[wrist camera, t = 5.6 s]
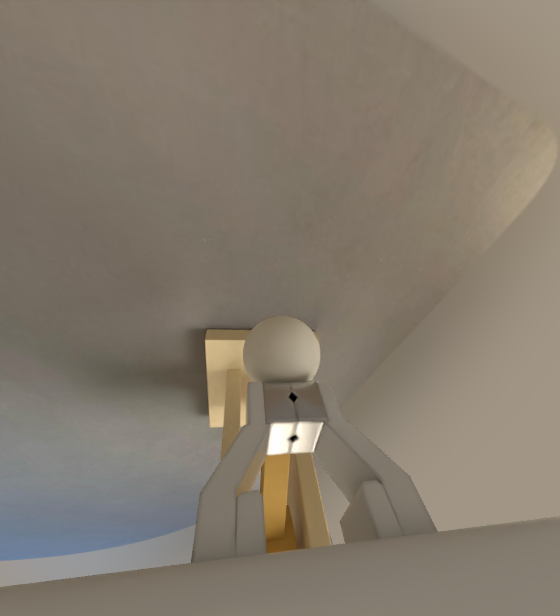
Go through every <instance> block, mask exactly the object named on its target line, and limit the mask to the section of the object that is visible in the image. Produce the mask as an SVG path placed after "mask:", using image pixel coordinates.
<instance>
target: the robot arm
mask: <svg viewBox="0 0 560 616" xmlns="http://www.w3.org/2000/svg"><path fill="white" fill-rule="evenodd" d="M296 453H314V455H315V457H316V458H317V459H318V461H319V462H320V463H321V465H322V466H323V467H324V469H325V470H326V471H327V473H328V474H329V475H330V476H331V478H332V479H333V481H334V482H335V483H336V485H337V486H338V487H339V489H340V490H341V491H342V493H343V494H344V495H345V497H346V498H347V499H348V501H349V502H350V505H349V506H348V508H347V510H346V512H345V513H344V515H343V517H342V519H341V520H340V524H341V528H342V532H343V537H344V541H345V544H338V545H330V546H322V547H314V548H306V549H298V550H290V551H282V552H274V553H267V550H266V534H265V519H264V503H263V495H262V494H261V493H260V492H259V491H258V490H255V491H251V489H252V487H253V485H254V483H255V480H256V478H257V476H258V474H259V472H260V469H261V467H262V465H263V463H264V461H265V458H266V456H270V455H281V454H296ZM0 616H560V516H559V517H551V518H543V519H535V520H527V521H520V522H512V523H504V524H496V525H488V526H480V527H472V528H464V529H457V530H448V531H440V532H438V531H437V530H436V527H435V525H434V523H433V521H432V519H431V517H430V515H429V513H428V511H427V509H426V507H425V505H424V503H423V501H422V499H421V497H420V495H419V493H418V492H417V489H416V487H415V486H414V484H413V481H412V479H411V477H410V476H409V475H408V474H407V473H405V471H403V470H402V469H401V468H400V467H399V466H398V465H397V464H396V463H395V462H394V461H392V460H391V459H390V458H389V457H388V456H387V455H386V454H385V453H384V452H383V451H382V450H381V449H379V448H378V447H377V446H376V445H375V444H374V443H373V442H372V441H371V440H370V439H368V438H367V437H366V436H365V435H364V434H363V433H362V432H361V431H360V430H359V429H358V428H356V427H355V426H354V425H353V424H352V423H351V422H350V421H349V420H344V417H343V415H342V412H341V409H340V407H339V404H338V401H337V399H336V396H335V393H334V391H333V388H332V385H331V383H330V382H329V381H292V382H248V384H247V399H246V425H244V426H243V427H242V429H241V430H240V432H239V434H238V435H237V437H236V438H235V440H234V441H233V443H232V444H231V446H230V448H229V449H228V451H227V452H226V454H225V455H224V457H223V458H222V460H221V462H220V463H219V465H218V466H217V468H216V469H215V471H214V472H213V474H212V476H211V477H210V479H209V480H208V482H207V483H206V485H205V487H204V488H203V490H202V491H201V493H200V498H199V506H198V513H197V521H196V529H195V537H194V544H193V551H192V559H191V563H187V564H179V565H171V566H163V567H155V568H148V569H140V570H132V571H124V572H116V573H109V574H100V575H92V576H85V577H76V578H69V579H60V580H53V581H45V582H37V583H29V584H21V585H13V586H6V587H0Z"/></svg>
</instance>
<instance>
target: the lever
mask: <svg viewBox="0 0 560 616" xmlns="http://www.w3.org/2000/svg"><path fill="white" fill-rule="evenodd" d="M243 362H244V367H245V370H246V372H247V374H248V376H249V377H250V379H251V380H252V381H253V382H292V381H311V380H312V379H313V377H314V376H315V374H316V372H317V370H318V367H319V363H320V347H319V343H318V341H317V338H316V336H315V334H314V333H313V332H312V330H311V329H310V328H309V327H308V326H307V325H306V324H305V323H303V322H302V321H300V320H298V319H296V318H293V317H289V316H274V317H270V318H267V319H265V320H263V321H261V322H260V323H258V324H257V325H256V326H255V327H254V328H253V329H252V330H251V331H250V333H249V334H248V336H247V338H246V340H245V343H244V347H243ZM289 461H290V454H281V455H270V456H266V458H265V461H264V463H263V465H262V467H261V482H260V493H261V494H262V495H263V503H264V519H265V534H266V550H267V553H274V552H282V551H290V550H298V547H297V542H296V537H295V532H294V527H293V523H292V518H291V513H290V508H289V505H286V503H287V489H288V475H289Z"/></svg>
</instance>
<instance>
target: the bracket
mask: <svg viewBox="0 0 560 616" xmlns="http://www.w3.org/2000/svg"><path fill="white" fill-rule="evenodd" d="M250 331H251V330H220V329H207V332H206V337H205V352H206V369H207V386H208V403H209V421H210V427H223V437H222V451H221V460H222V458H223V457H224V455H225V454H226V452H227V451H228V449H229V448H230V446H231V444H232V443H233V441H234V440H235V438H236V437H237V435H238V434H239V432H240V426H244V425H246V399H247V384H248V382H253V381H252V380H251V379H250V377H249V376H248V374H247V372H246V370H245V367H244V362H243V347H244V343H245V340H246V338H247V336H248V334H249V333H250ZM312 332H313V333H314V334H315V336H316V338H317V341H318V343H319V339H318V336H317V334H316V331H312ZM287 505H289V508H290V513H291V518H292V523H293V527H294V532H295V537H296V542H297V547H298V549H306V548H314V547H322V546H330V545H333V544H332V540H331V537H330V534H329V531H328V526H327V522H326V517H325V512H324V508H323V503H322V498H321V494H320V489H319V485H318V480H317V476H316V471H315V466H314V462H313V457H312V453H296V454H290V461H289V475H288V489H287Z"/></svg>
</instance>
